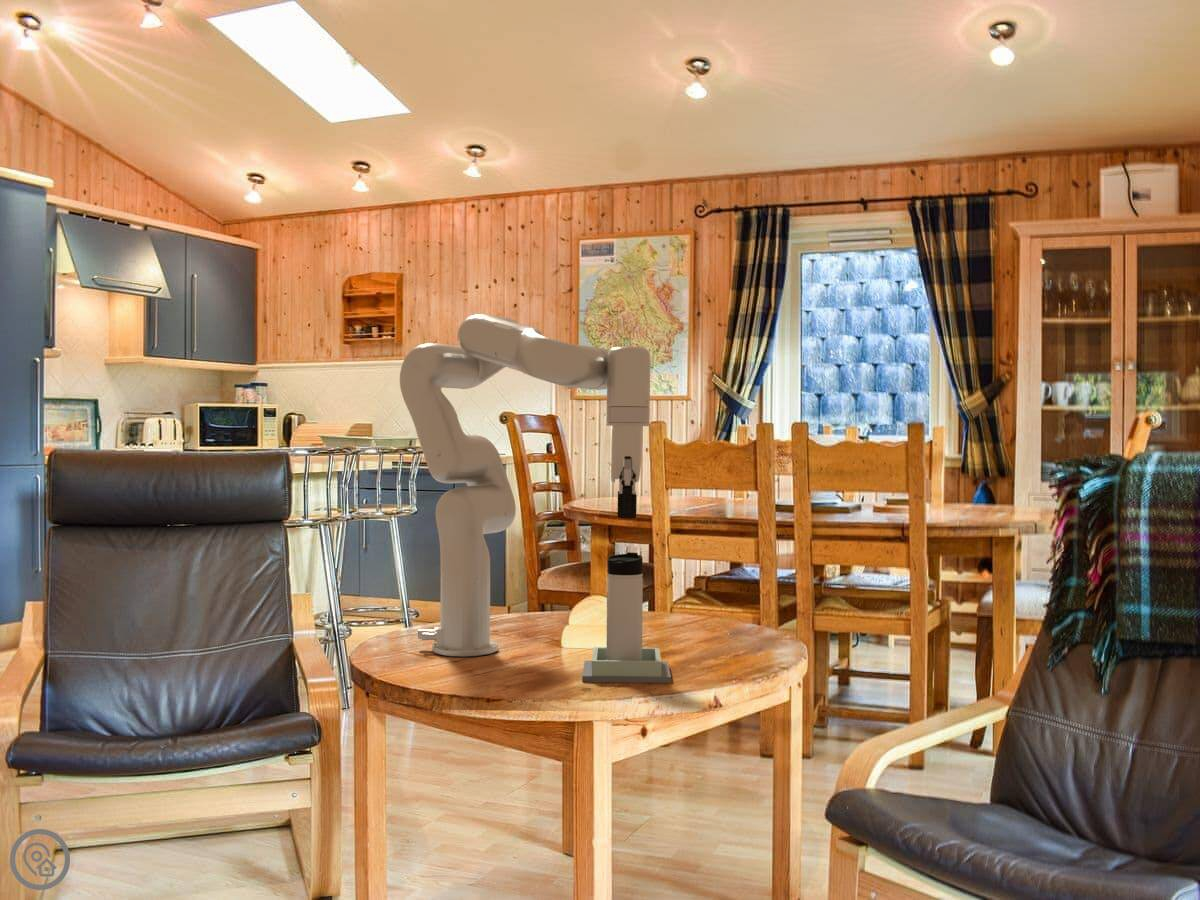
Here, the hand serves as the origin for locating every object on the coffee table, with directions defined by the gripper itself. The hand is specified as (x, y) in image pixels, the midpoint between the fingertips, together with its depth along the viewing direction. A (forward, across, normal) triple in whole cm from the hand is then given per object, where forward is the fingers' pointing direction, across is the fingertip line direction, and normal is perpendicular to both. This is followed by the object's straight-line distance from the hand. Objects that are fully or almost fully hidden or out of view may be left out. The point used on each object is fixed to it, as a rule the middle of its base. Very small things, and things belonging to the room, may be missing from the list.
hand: (626, 515), depth 187 cm
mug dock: (+28, 0, 0) cm, 28 cm away
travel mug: (+27, 0, 0) cm, 27 cm away
